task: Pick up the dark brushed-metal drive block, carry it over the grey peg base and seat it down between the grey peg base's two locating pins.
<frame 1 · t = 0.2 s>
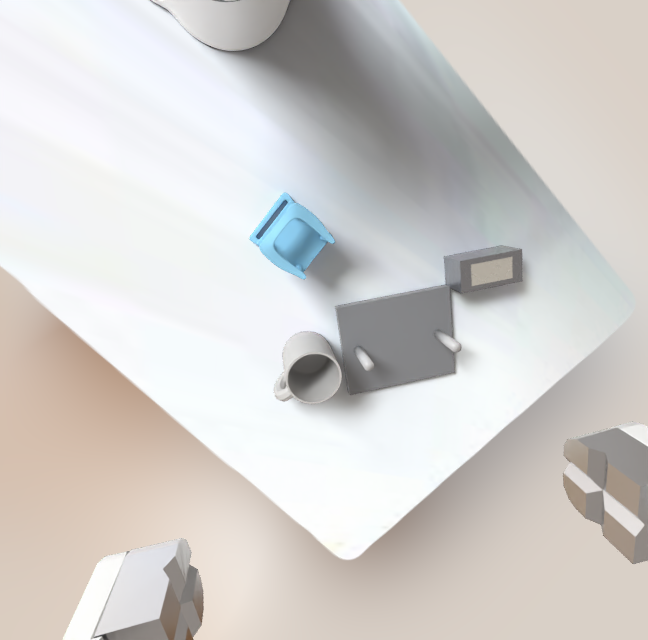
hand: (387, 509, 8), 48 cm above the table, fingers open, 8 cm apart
grey peg base: (395, 339, 60), on the table
drive: (473, 265, 58), on the table
cup: (299, 358, 58), on the table
chair: (290, 235, 53), on the table
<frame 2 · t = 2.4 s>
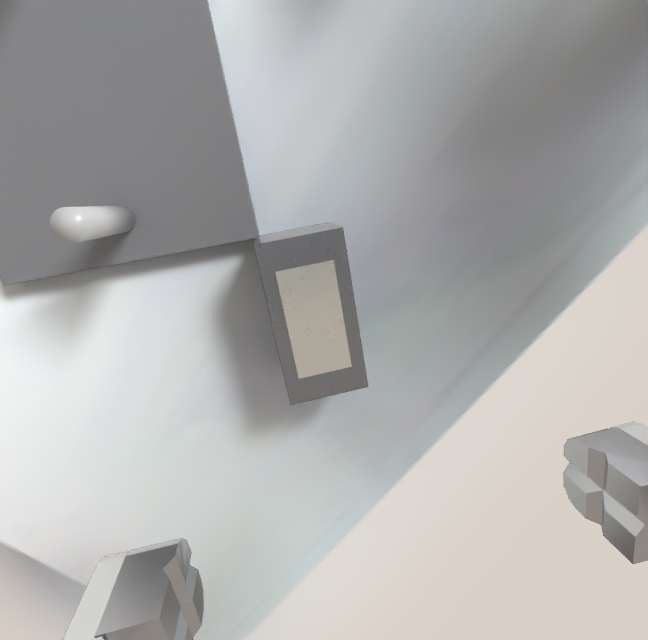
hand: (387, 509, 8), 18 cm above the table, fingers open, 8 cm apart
grey peg base: (90, 97, 20), on the table
drive: (305, 299, 25), on the table
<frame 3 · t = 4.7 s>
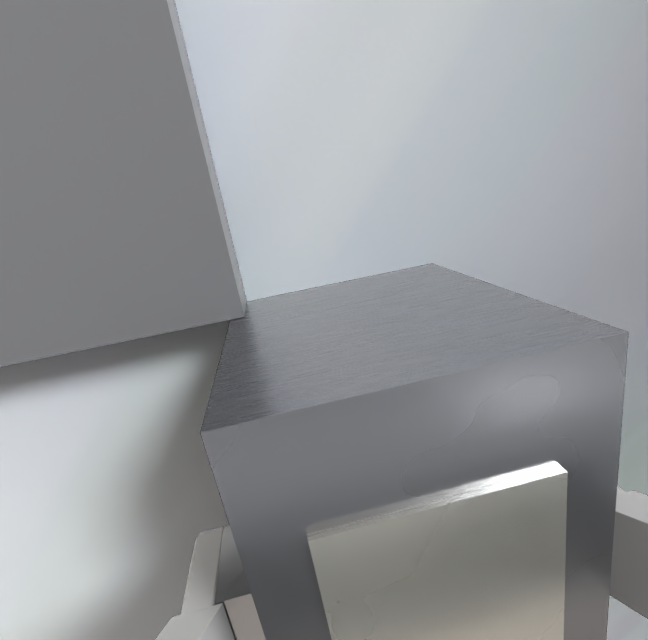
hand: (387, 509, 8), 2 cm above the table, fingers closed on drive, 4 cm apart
drive: (364, 452, 10), on the table, touching gripper
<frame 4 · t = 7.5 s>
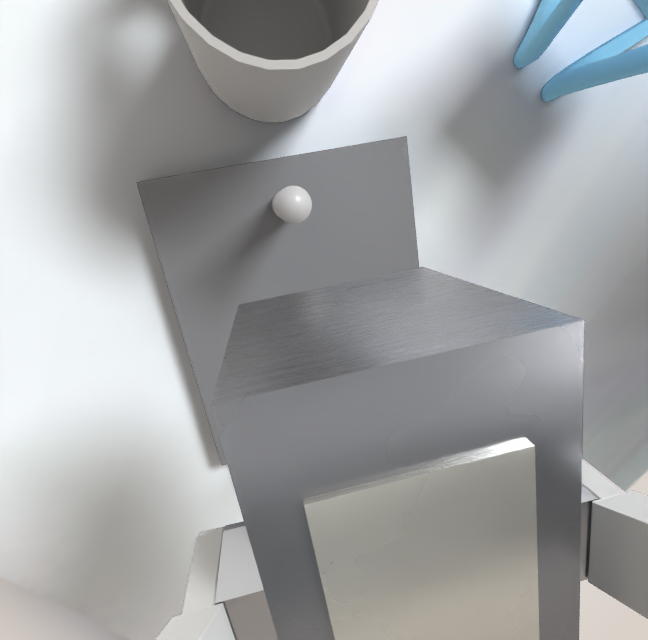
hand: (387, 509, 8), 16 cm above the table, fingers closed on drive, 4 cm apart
grey peg base: (304, 309, 24), on the table
drive: (360, 446, 11), point 14 cm above the table, touching gripper
cup: (247, 22, 19), on the table
chair: (578, 20, 22), on the table
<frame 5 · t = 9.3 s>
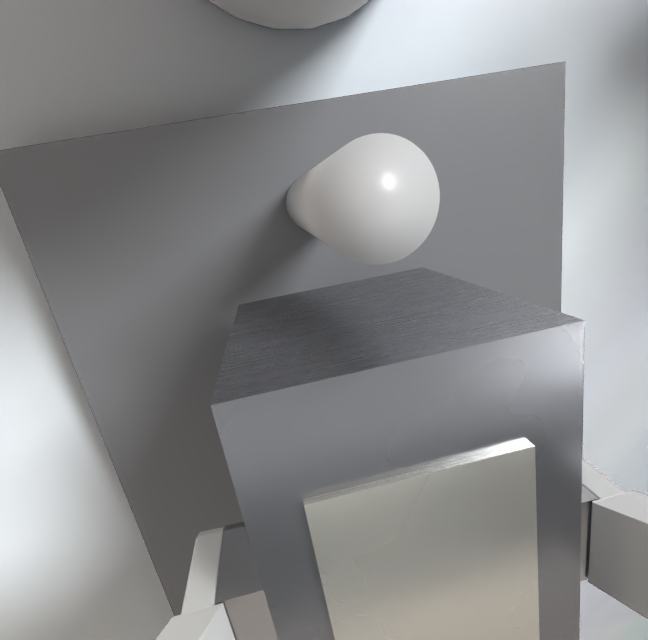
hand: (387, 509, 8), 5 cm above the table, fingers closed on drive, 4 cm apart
grey peg base: (341, 393, 13), on the table
drive: (360, 446, 11), point 3 cm above the table, touching gripper
when the fingers open (4 cm above the table, at t = 10.5 s): drive stays where it is, resting on grey peg base.
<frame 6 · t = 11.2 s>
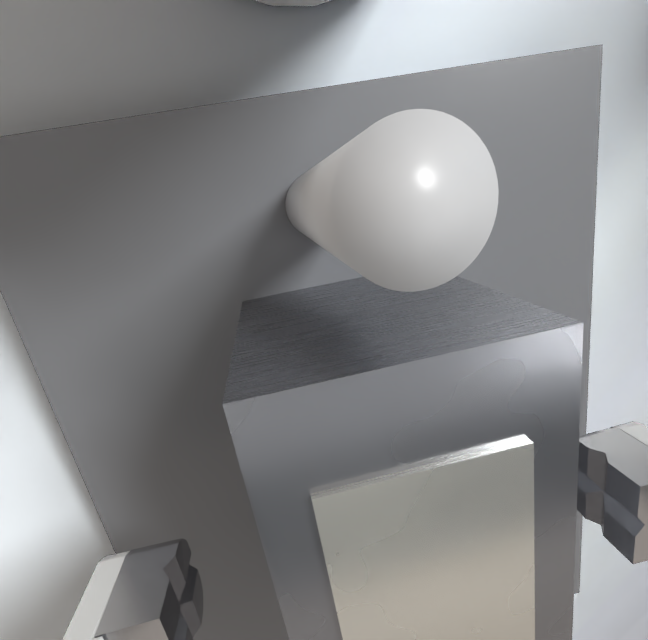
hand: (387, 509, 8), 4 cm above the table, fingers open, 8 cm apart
grey peg base: (346, 414, 12), on the table
drive: (361, 440, 11), point 1 cm above the table, touching grey peg base
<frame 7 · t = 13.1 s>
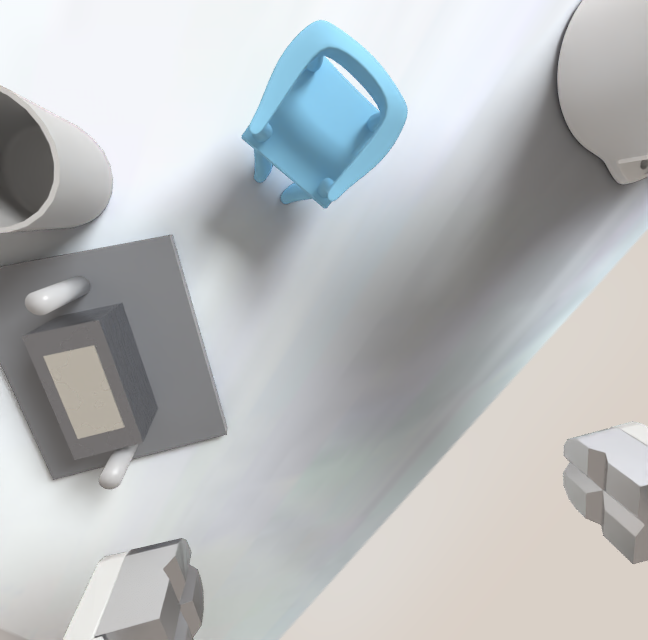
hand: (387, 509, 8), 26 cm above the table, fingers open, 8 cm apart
grey peg base: (113, 358, 31), on the table
drive: (111, 364, 30), point 1 cm above the table, touching grey peg base
cup: (43, 159, 27), on the table
chair: (301, 148, 30), on the table
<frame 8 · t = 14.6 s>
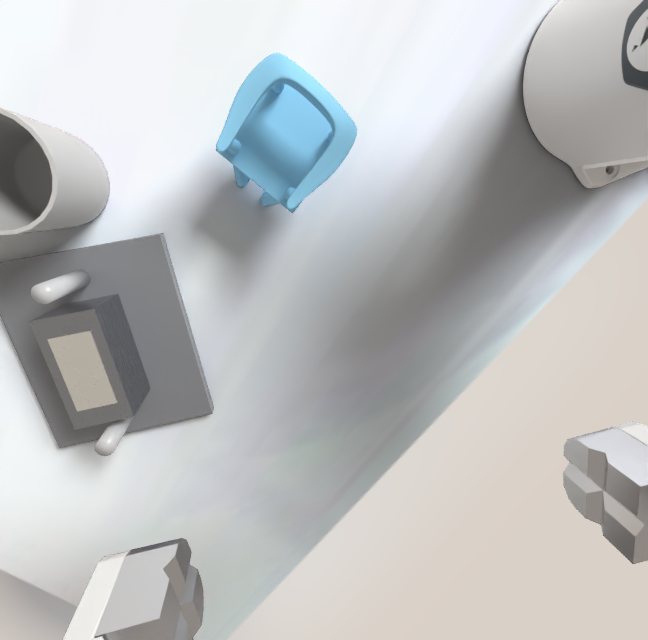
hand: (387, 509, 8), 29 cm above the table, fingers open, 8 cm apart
grey peg base: (111, 342, 35), on the table
drive: (108, 348, 34), point 1 cm above the table, touching grey peg base
cup: (49, 166, 31), on the table
chair: (279, 155, 33), on the table
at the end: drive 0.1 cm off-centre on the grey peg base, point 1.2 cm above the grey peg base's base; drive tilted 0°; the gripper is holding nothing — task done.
